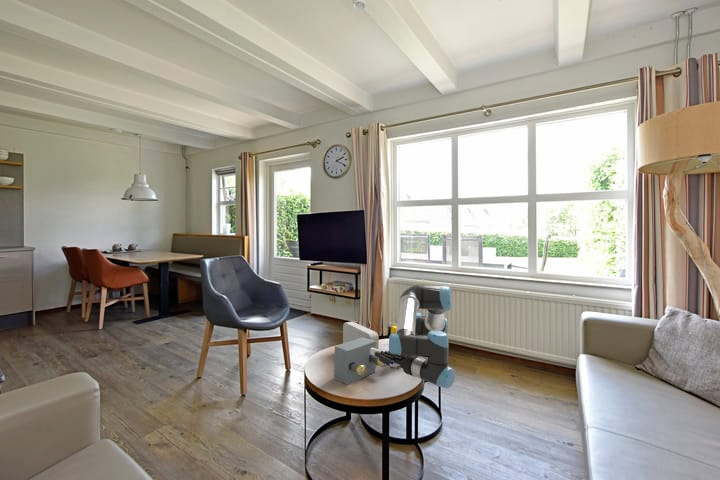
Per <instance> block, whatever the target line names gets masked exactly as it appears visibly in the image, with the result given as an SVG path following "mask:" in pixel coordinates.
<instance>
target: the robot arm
mask: <svg viewBox="0 0 720 480" xmlns="http://www.w3.org/2000/svg"><path fill="white" fill-rule="evenodd" d="M452 301H453V299H452V288H451V287H450V286H448V285H445V286H444V285H428V284H415V285H412V286H410V287H408V288H407V289H405V290H404V291H403V292H402V293H401V295H400V297H399V300H398V306H399V313H398V320H397V323H396V324H397V325H396V326H397V330H396V333H395V334H391V333H390V335H389V337H388V351H387V350H381V349H379V348H378V349H376V348H370V354H371V355H374V356H376V357H379V361H381V362H382V363H384V364H385V365H386V366H388V367H389V368H390V369H391V370H392V369H394V368H395V367H394V366H397V367H398V368H397V369H402V371H403V372H404V373H405V374H406V375H409V376H411V377H415V378H418V379H419V380H421V381H426V382H427V383H430V384H433V385H435V386H437V387H441V388H445V389H449V388H451V387H452V386H453V384H454V382H455V379H456V373H455V370H454V368H453V367H451V366H449V335H448V334H447V333H448V326H449V325H448V319H447V317H444V315H445V313H446V312H449V311H452V308H453V307H452V306H453V305H452V303H453V302H452ZM418 309H419V310H427V315H422V313H421V312H418ZM426 358H427V359H426Z"/></svg>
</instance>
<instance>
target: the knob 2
mask: <svg viewBox="0 0 720 480" xmlns="http://www.w3.org/2000/svg"><path fill="white" fill-rule="evenodd" d="M369 361H370V362H372V363H375V364H376V365H375V366H378V367H380V368H383V367H384V366H385V365H386V364H384V363H382V362H381V361H379V357H376V356H374V355H370V356H369Z"/></svg>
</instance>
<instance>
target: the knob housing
mask: <svg viewBox="0 0 720 480" xmlns="http://www.w3.org/2000/svg"><path fill="white" fill-rule="evenodd" d="M370 348H376V341H373V340H370V339H367V338H364V337H362V338H358V339H355V340H352V341H349V342H346V343H343V342H342V343H340V344H337V345H334V362H333V363H334V368H333V369H334V373H333V374H334V375H333V376H334V377H333V378H334V380H336V381H339V382H341V383H342V384H345V385H347V386H348V385H349V384H352V383H355V382H357V381H358V380H361V379H363V378H365V377H367V376H369V375H371V374H374V373H376V365H375V363H372V362H370V361H369V356H370V355H371V354H370ZM352 362H353V363H356V364H361V365H363V366H365V367H366V373H365V374H364V375H363V376H361V375H358V374H356V373H355V372H354V371H352V370H350V369H349V364H350V363H352Z"/></svg>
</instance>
